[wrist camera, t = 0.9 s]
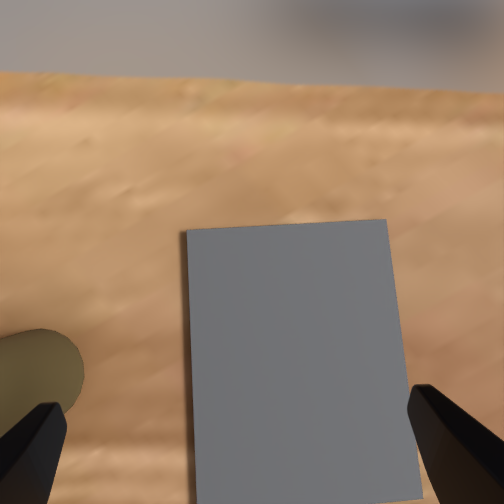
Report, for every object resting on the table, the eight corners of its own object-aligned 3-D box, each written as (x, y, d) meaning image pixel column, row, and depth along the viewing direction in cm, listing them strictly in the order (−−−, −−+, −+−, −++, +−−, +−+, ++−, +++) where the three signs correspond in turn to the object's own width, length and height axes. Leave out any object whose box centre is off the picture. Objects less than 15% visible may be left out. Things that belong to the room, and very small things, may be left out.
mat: (419, 495, 23) (423, 498, 23) (198, 516, 23) (197, 520, 22) (383, 221, 27) (386, 219, 26) (187, 231, 26) (186, 230, 25)
